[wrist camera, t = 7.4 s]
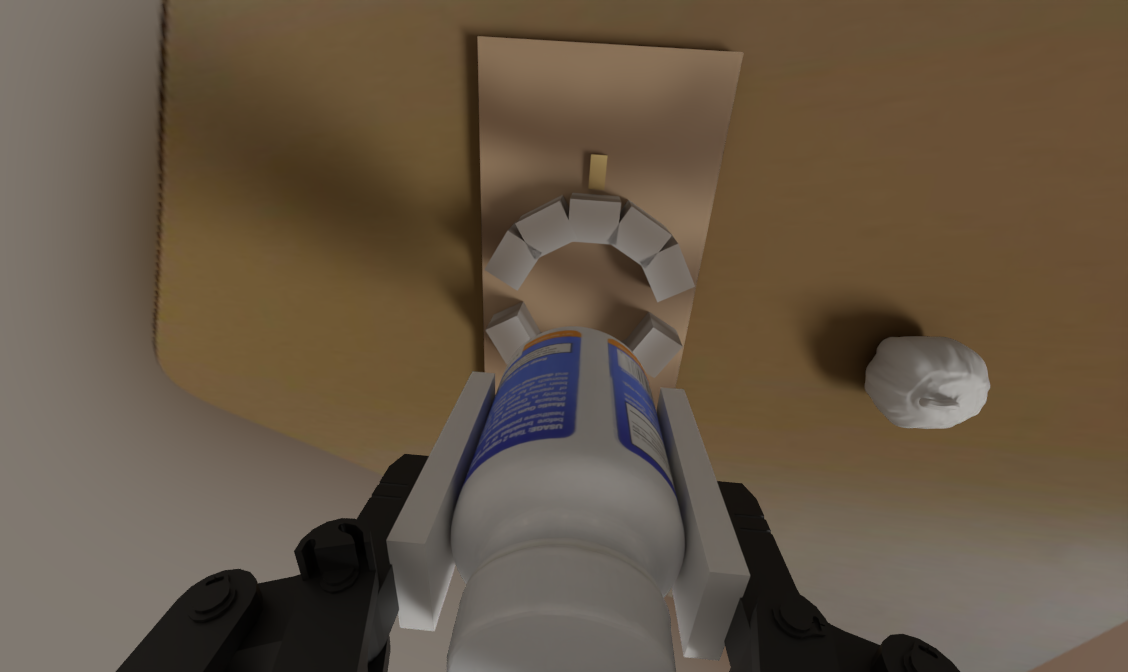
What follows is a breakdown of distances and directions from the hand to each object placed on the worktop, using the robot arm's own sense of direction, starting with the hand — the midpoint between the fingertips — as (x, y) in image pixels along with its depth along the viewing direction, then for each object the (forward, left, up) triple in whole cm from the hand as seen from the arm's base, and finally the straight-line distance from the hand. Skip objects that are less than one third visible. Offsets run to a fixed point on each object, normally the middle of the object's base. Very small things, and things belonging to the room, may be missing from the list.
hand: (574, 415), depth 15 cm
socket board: (-2, 0, -12) cm, 12 cm away
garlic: (+3, +19, -12) cm, 23 cm away
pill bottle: (0, 0, -2) cm, 2 cm away
